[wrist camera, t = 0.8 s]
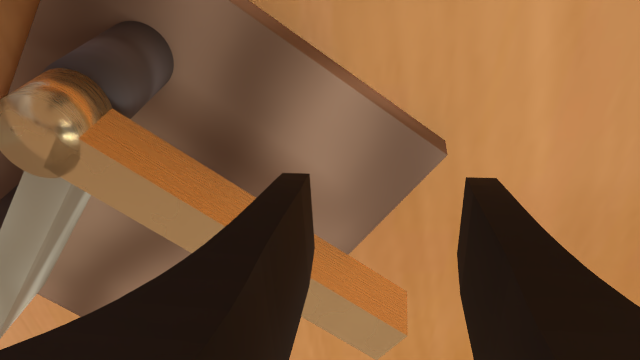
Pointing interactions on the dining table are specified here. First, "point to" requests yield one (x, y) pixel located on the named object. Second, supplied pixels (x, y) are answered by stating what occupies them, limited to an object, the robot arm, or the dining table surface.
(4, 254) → the wooden base plate
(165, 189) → the latch bar
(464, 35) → the dining table surface
